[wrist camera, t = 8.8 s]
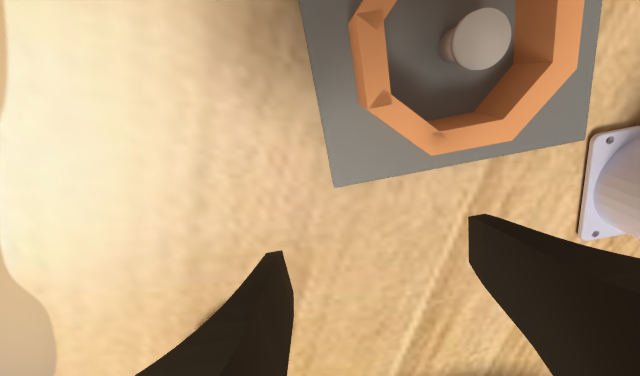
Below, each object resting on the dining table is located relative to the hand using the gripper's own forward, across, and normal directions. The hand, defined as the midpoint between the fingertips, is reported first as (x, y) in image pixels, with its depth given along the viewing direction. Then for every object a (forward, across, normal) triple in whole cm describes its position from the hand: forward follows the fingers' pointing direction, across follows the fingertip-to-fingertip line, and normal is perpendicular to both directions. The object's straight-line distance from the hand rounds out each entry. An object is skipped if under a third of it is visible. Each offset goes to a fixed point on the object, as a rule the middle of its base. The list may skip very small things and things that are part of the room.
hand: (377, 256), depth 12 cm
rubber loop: (+8, -6, -7) cm, 13 cm away
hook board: (+9, -7, -7) cm, 13 cm away
